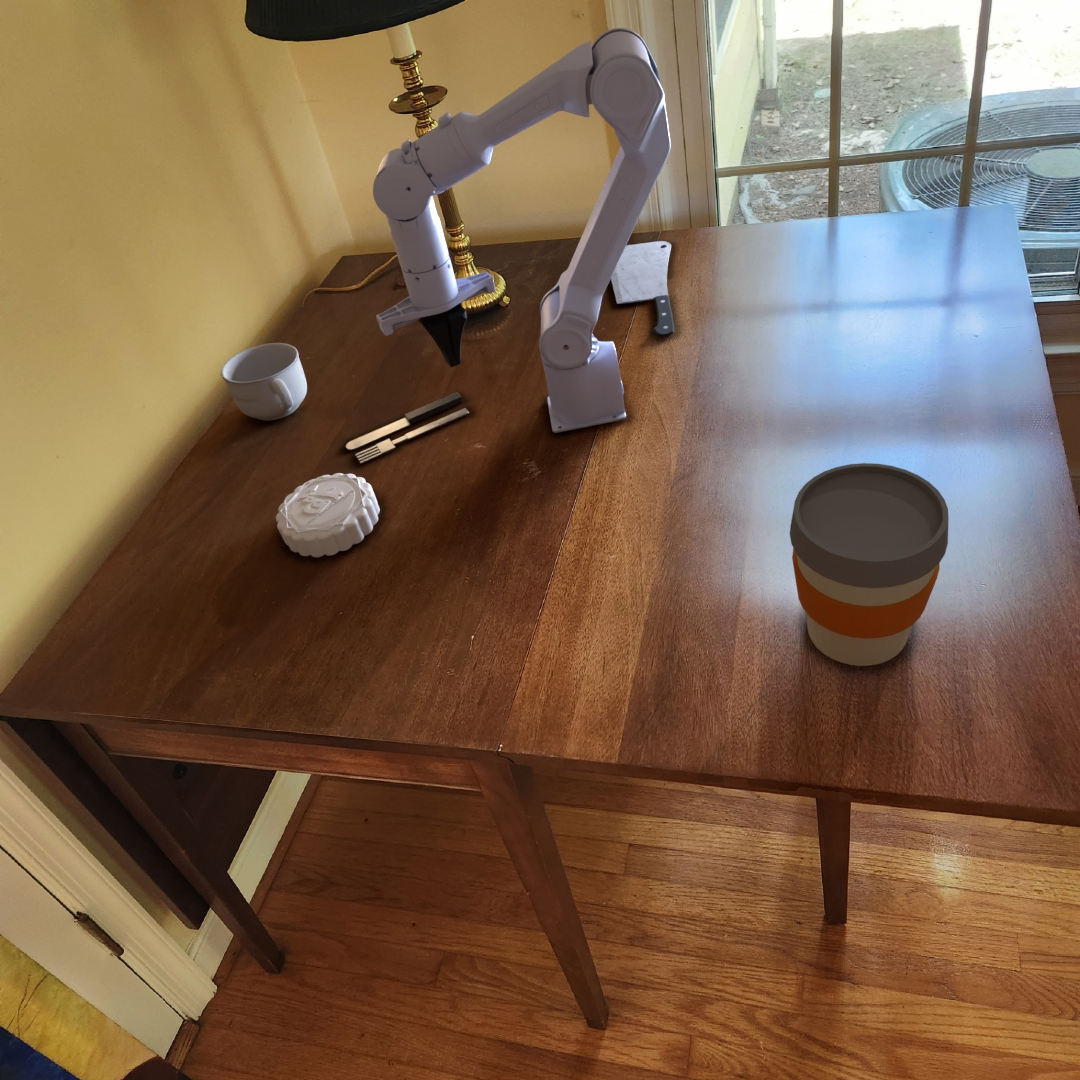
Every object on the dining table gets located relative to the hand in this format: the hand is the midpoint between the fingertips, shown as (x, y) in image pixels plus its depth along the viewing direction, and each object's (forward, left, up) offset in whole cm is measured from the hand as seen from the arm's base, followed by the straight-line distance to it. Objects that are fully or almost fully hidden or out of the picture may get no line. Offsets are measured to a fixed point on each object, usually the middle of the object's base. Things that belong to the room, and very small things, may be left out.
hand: (453, 362), depth 112 cm
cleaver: (-27, -26, -10) cm, 39 cm away
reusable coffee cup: (-35, +45, -10) cm, 58 cm away
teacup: (+28, -12, -10) cm, 32 cm away
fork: (+8, 0, -10) cm, 13 cm away
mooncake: (+18, +15, -10) cm, 25 cm away
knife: (+9, -3, -10) cm, 14 cm away
